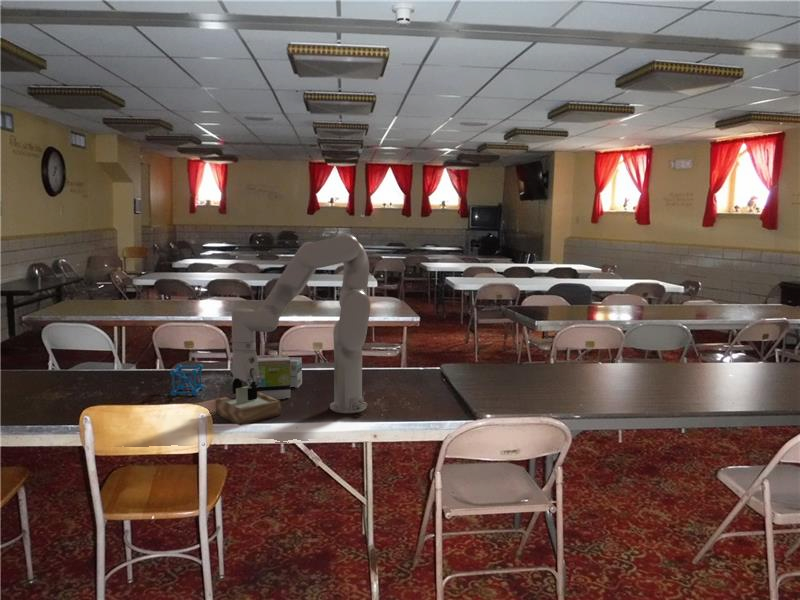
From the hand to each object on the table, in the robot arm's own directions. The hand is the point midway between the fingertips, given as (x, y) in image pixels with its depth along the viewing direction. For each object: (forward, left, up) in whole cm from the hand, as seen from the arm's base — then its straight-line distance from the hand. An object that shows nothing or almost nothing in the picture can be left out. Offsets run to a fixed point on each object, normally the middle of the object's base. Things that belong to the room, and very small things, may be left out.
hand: (244, 396), depth 205 cm
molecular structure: (+35, +4, -6) cm, 36 cm away
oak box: (-2, 0, -6) cm, 6 cm away
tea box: (+11, -16, -6) cm, 21 cm away
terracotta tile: (+13, +3, -6) cm, 15 cm away
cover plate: (-2, 0, -3) cm, 3 cm away
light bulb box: (+19, -29, -6) cm, 36 cm away
